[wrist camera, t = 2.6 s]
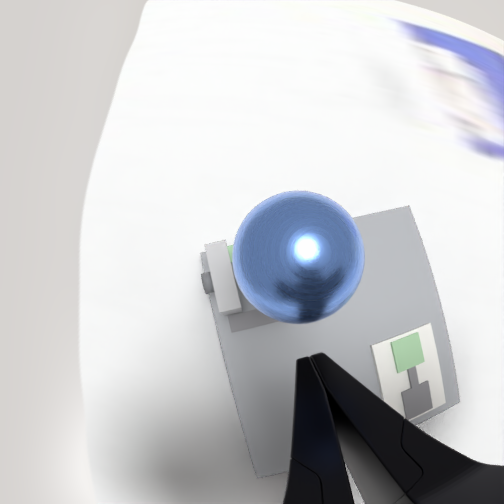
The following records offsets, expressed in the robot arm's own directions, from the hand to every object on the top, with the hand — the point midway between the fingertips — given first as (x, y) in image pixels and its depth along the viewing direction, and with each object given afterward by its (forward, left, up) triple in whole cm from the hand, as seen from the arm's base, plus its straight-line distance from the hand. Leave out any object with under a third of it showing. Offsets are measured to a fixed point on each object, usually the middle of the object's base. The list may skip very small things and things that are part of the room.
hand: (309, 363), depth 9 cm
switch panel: (-1, -3, -8) cm, 9 cm away
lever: (+4, -1, -6) cm, 7 cm away
